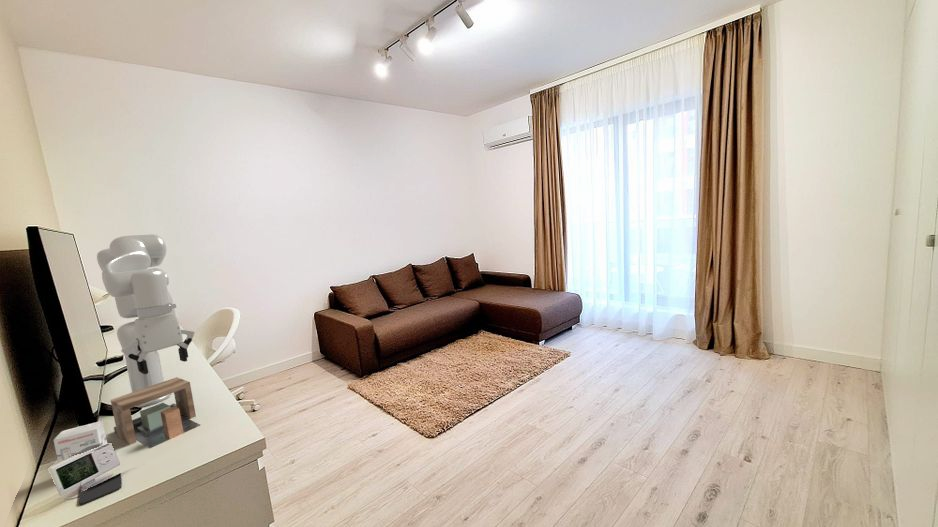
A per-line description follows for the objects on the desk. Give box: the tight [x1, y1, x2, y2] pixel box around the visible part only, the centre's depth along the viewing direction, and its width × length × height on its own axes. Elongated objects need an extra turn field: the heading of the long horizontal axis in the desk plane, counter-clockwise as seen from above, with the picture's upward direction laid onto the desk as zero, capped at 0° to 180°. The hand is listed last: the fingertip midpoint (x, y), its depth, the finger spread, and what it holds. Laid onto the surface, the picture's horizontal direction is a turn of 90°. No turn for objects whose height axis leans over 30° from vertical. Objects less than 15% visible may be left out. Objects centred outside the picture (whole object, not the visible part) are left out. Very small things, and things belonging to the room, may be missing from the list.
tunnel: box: [110, 377, 197, 446], centre depth 116 cm, size 10×17×14 cm, turn 149°
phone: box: [78, 472, 123, 506], centre depth 92 cm, size 7×1×15 cm
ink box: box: [53, 421, 108, 463], centre depth 98 cm, size 9×5×12 cm, turn 122°
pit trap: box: [113, 403, 177, 435], centre depth 121 cm, size 4×16×3 cm, turn 149°
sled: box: [134, 407, 201, 449], centre depth 114 cm, size 18×13×9 cm
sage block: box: [139, 402, 171, 431], centre depth 116 cm, size 6×6×6 cm
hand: (165, 366), depth 108 cm, fingers open, 9 cm apart
